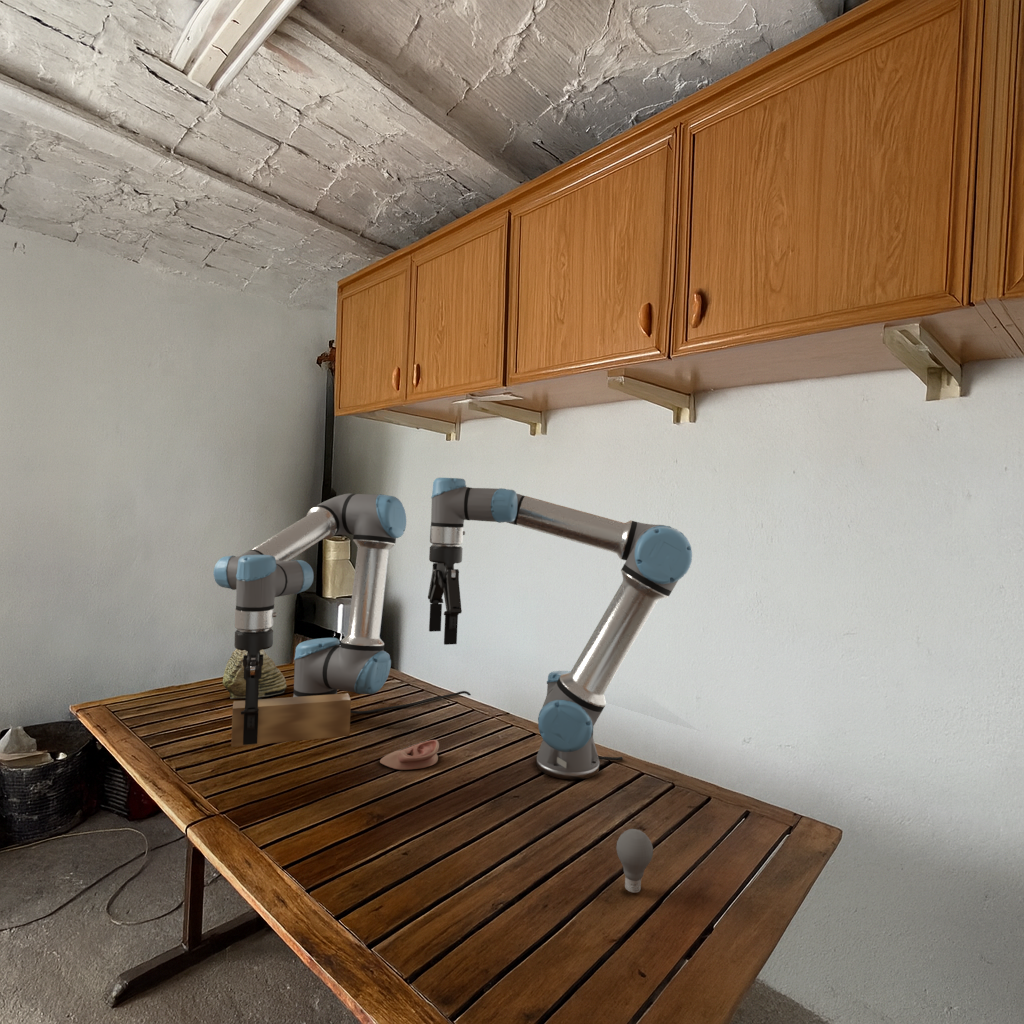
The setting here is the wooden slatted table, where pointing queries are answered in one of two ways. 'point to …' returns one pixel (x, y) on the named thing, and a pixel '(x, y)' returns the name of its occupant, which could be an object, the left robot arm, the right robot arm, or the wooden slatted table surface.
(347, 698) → the bar
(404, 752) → the anatomical model
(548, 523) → the right robot arm
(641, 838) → the light bulb
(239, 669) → the fossil
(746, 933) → the wooden slatted table surface
